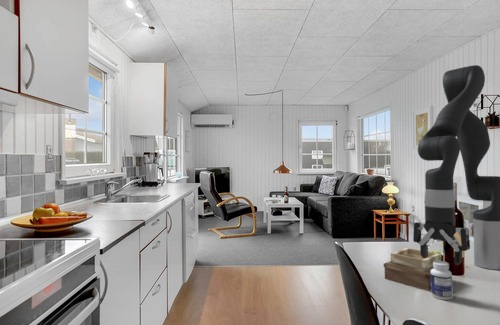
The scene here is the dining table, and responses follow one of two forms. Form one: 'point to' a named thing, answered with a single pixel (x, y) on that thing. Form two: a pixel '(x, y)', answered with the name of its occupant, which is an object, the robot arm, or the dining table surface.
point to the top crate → (414, 259)
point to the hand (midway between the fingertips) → (440, 261)
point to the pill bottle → (441, 281)
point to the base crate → (408, 276)
